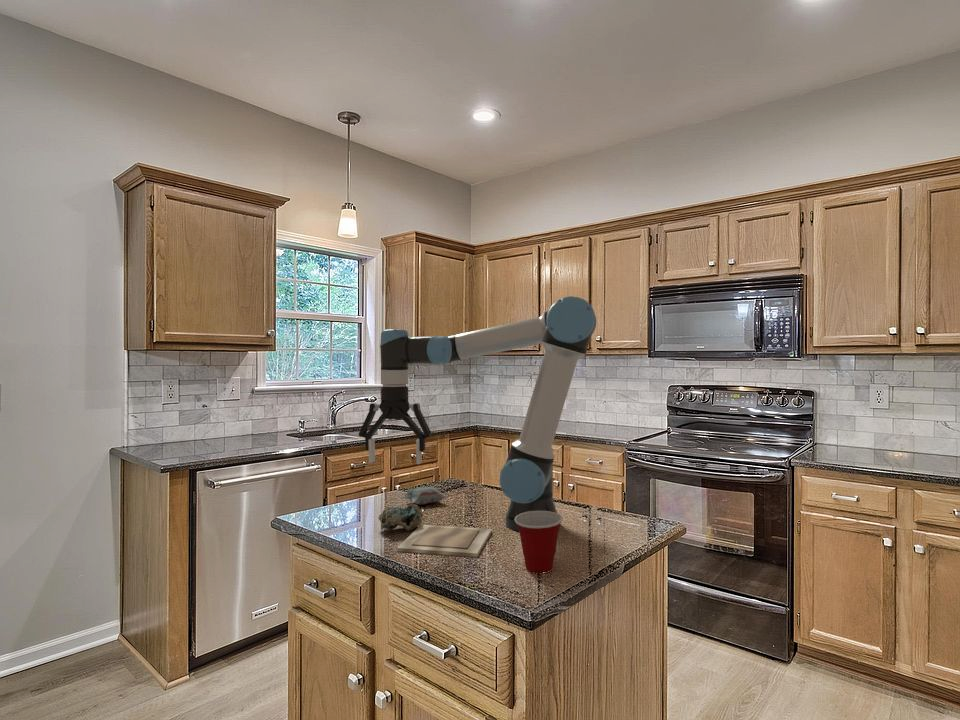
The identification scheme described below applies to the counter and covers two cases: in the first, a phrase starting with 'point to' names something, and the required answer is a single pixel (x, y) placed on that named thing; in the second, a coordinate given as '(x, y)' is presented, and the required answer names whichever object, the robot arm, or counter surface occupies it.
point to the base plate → (446, 540)
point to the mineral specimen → (401, 517)
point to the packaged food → (425, 495)
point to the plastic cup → (538, 538)
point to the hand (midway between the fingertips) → (395, 462)
